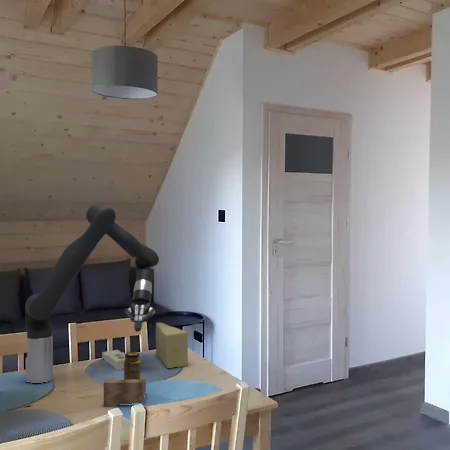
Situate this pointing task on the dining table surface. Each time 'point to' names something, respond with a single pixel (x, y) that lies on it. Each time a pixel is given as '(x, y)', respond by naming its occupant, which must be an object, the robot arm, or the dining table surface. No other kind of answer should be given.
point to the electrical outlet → (114, 358)
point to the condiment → (131, 366)
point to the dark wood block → (124, 391)
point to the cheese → (171, 345)
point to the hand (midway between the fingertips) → (137, 330)
